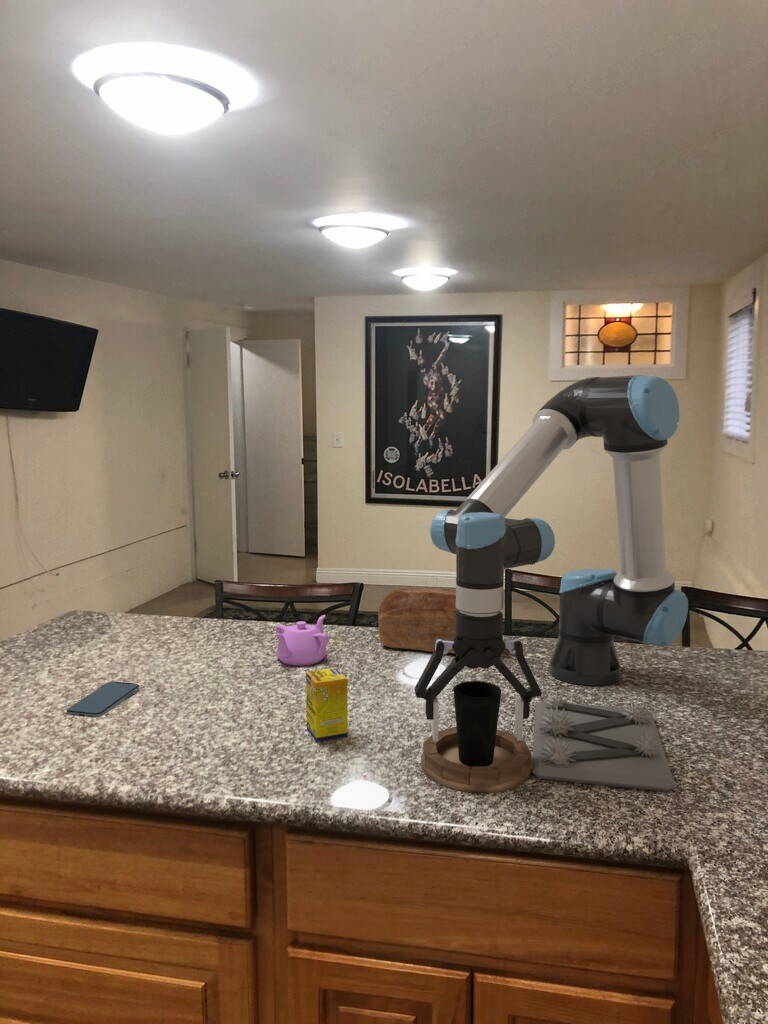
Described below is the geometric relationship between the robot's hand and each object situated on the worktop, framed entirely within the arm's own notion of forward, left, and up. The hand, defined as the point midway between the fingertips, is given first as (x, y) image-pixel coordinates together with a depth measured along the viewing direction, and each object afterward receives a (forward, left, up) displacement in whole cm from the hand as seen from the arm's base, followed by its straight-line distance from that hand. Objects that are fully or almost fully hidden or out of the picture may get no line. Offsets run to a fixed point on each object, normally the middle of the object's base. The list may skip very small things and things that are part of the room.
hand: (476, 737), depth 126 cm
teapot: (+33, -54, -5) cm, 64 cm away
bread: (+1, -62, -5) cm, 62 cm away
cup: (0, 0, -4) cm, 4 cm away
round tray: (0, 0, -5) cm, 5 cm away
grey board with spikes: (-22, -7, -6) cm, 24 cm away
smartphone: (+70, -29, -6) cm, 76 cm away
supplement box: (+25, -13, -5) cm, 29 cm away
